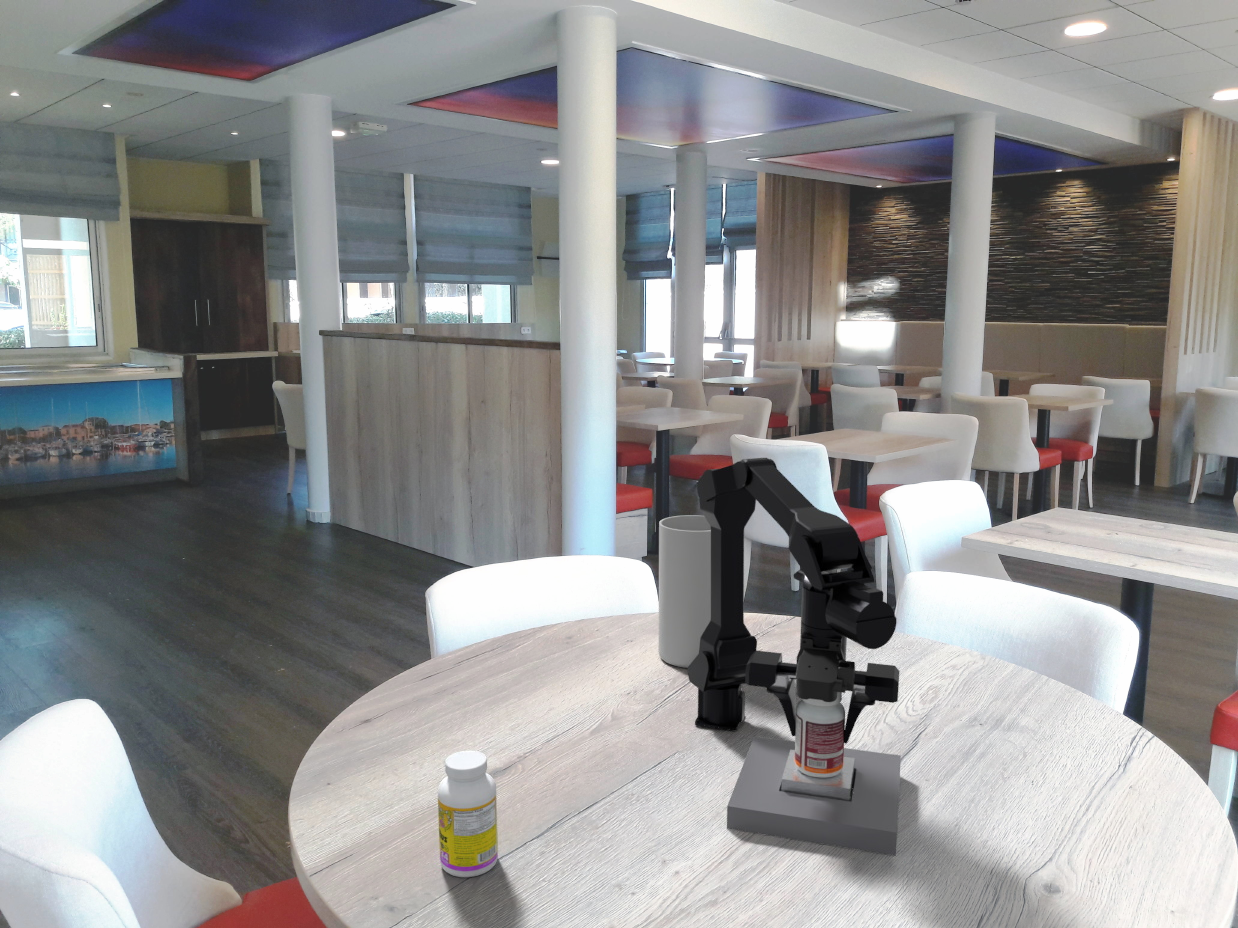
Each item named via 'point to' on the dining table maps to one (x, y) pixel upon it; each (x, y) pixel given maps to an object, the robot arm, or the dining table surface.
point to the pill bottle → (820, 737)
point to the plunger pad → (819, 781)
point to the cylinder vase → (683, 587)
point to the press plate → (818, 801)
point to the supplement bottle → (467, 816)
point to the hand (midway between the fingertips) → (819, 738)
